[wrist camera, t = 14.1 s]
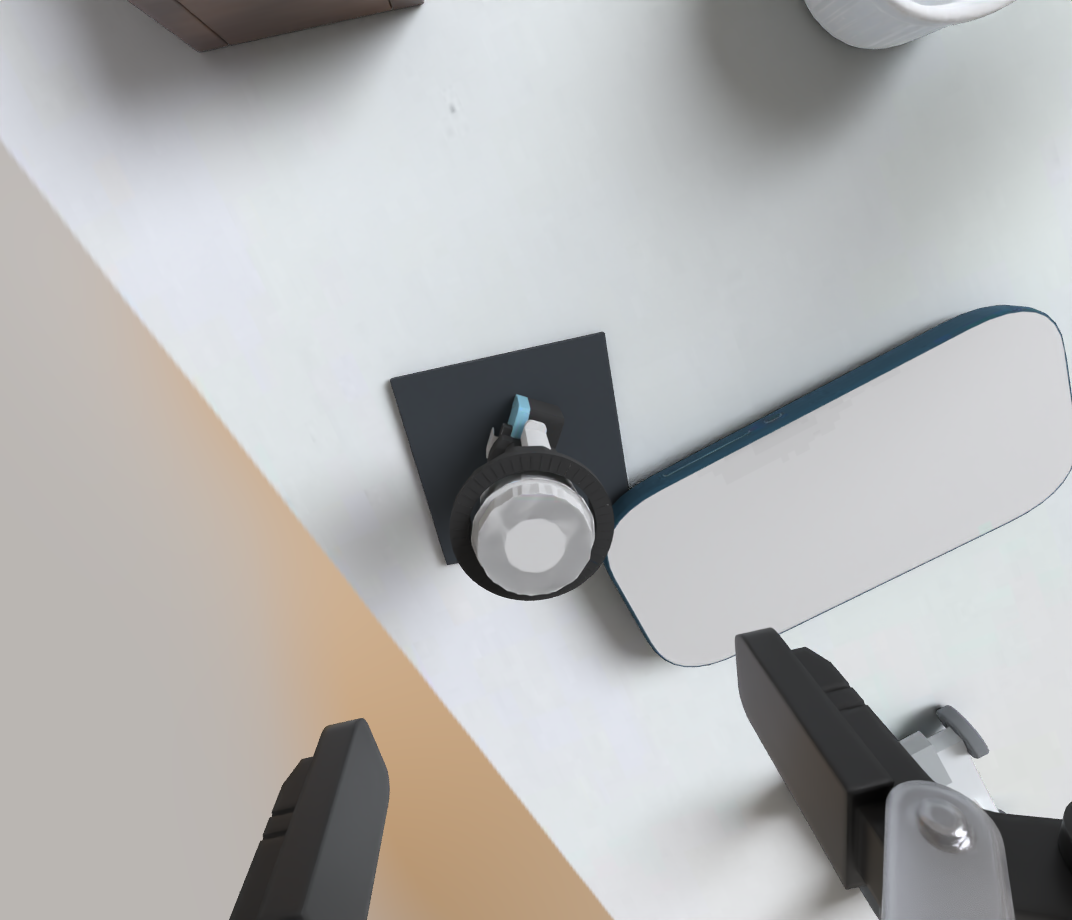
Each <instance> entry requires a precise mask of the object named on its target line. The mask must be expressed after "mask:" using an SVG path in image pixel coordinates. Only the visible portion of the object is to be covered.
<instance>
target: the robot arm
mask: <svg viewBox="0 0 1072 920" xmlns="http://www.w3.org/2000/svg"><path fill="white" fill-rule="evenodd" d="M735 652H736V664H737V676H738V688H739V694H740V698H741V702H742V705H743V708H744V710H745V713H746V715H747V717H748V719H749V721H750V723H751V725H752V726H753V728H754V730H755V732H756V733H757V735H758V737H759V739H760V740H761V742H762V744H763V746H764V747H765V749H766V751H767V753H768V754H769V756H770V758H771V760H772V761H773V763H774V765H775V767H776V768H777V770H778V772H779V774H780V775H781V777H782V779H783V781H784V782H785V784H786V786H787V788H788V789H789V791H790V793H791V795H792V796H793V798H794V800H795V802H796V803H797V805H798V807H799V808H800V810H801V812H802V814H803V815H804V817H805V819H806V821H807V822H808V824H809V826H810V828H811V829H812V831H813V833H814V835H815V836H816V838H817V840H818V842H819V843H820V845H821V847H822V849H823V850H824V852H825V854H826V856H827V857H828V859H829V861H830V863H831V864H832V866H833V868H834V870H835V871H836V873H837V875H838V877H839V878H840V880H841V882H842V884H843V885H844V887H845V889H846V890H847V889H851V888H856V887H860V886H865V885H867V887H868V888H869V890H870V892H871V893H872V895H873V897H874V898H875V900H876V902H877V903H878V905H879V907H880V920H1072V802H1071V803H1070V804H1069V805H1068V806H1067V807H1066V809H1065V812H1064V816H1063V820H1062V819H1052V818H1042V817H1033V816H1023V815H1013V814H1004V813H998V812H993V811H989V810H985V809H982V808H981V807H980V806H979V805H978V804H976V803H975V802H974V801H972V800H971V799H970V798H968V797H967V796H965V795H963V794H962V793H960V792H958V791H956V790H954V789H952V788H950V787H947V786H944V785H942V784H939V783H936V782H935V781H933V780H932V779H931V778H930V777H929V776H928V774H927V773H926V772H925V771H924V770H923V769H922V768H921V767H920V765H919V764H918V763H917V762H916V761H915V760H914V758H913V757H912V756H911V755H910V754H909V753H908V752H907V750H906V749H905V748H904V747H903V746H902V745H901V743H900V742H899V741H898V740H897V739H896V738H895V736H894V735H893V734H892V733H891V732H890V731H889V729H888V728H887V727H886V726H885V725H884V724H883V723H882V721H881V720H880V719H879V718H878V717H877V716H876V714H875V713H874V712H873V711H872V710H871V709H870V707H869V706H868V705H865V704H864V700H863V699H862V698H861V697H860V696H859V695H858V693H857V692H856V691H855V690H854V689H853V688H852V687H851V688H850V686H849V683H848V682H847V681H846V680H845V678H844V677H843V676H842V675H841V674H840V673H839V671H838V670H837V669H836V668H835V667H834V666H833V664H832V663H831V662H829V661H828V660H826V659H824V658H823V657H821V656H820V655H818V654H816V653H815V652H813V651H812V650H810V649H808V648H807V647H802V648H798V649H794V650H791V649H790V648H789V647H788V645H787V644H786V643H785V642H784V640H783V639H782V638H781V637H780V635H779V634H778V633H777V632H776V630H774V629H773V628H771V627H769V628H764V629H760V630H755V631H751V632H747V633H742V634H738V635H736V636H735ZM389 791H390V788H389V777H388V771H387V768H386V765H385V763H384V761H383V758H382V756H381V754H380V751H379V749H378V746H377V744H376V742H375V740H374V737H373V735H372V733H371V730H370V728H369V725H368V723H367V722H366V720H365V719H363V718H360V719H355V720H351V721H346V722H342V723H337V724H333V725H329V726H326V727H325V728H324V730H323V732H322V734H321V736H320V739H319V742H318V745H317V747H316V750H315V753H314V756H313V757H309V758H305V759H302V760H301V761H300V762H299V764H298V765H297V766H296V768H295V769H294V770H293V772H292V773H291V774H290V776H289V777H288V778H287V780H286V781H285V782H284V784H283V785H282V787H281V790H280V793H279V795H278V798H277V800H276V803H275V805H274V808H273V810H272V817H270V818H269V820H268V823H267V826H266V828H265V831H264V833H263V840H262V841H260V843H259V846H258V849H257V851H256V853H255V856H254V858H253V861H252V863H251V866H250V868H249V871H248V874H247V876H246V878H245V881H244V884H243V886H242V889H241V891H240V894H239V896H238V899H237V901H236V904H235V906H234V909H233V911H232V914H231V916H230V919H229V920H367V916H368V910H369V905H370V900H371V895H372V889H373V884H374V878H375V873H376V867H377V862H378V856H379V851H380V846H381V841H382V835H383V830H384V824H385V819H386V814H387V808H388V802H389Z"/></svg>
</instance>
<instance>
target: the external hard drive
mask: <svg viewBox="0 0 1072 920" xmlns="http://www.w3.org/2000/svg"><path fill="white" fill-rule="evenodd" d="M1071 469H1072V393H1071V386H1070V379H1069V372H1068V365H1067V357H1066V352H1065V347H1064V342H1063V338H1062V334H1061V332H1060V330H1059V328H1058V327H1057V325H1056V323H1055V322H1054V321H1053V320H1052V319H1051V318H1050V317H1049V316H1048V315H1047V314H1045V313H1043V312H1041V311H1038V310H1036V309H1033V308H1030V307H1023V306H1010V305H996V306H990V307H984V308H979V309H976V310H973V311H970V312H967V313H964V314H961V315H959V316H957V317H955V318H953V319H950V320H948V321H946V322H944V323H942V324H940V325H938V326H936V327H934V328H932V329H931V330H929V331H927V332H925V333H923V334H921V335H919V336H917V337H915V338H913V339H911V340H910V341H908V342H906V343H904V344H902V345H900V346H898V347H896V348H894V349H892V350H891V351H889V352H887V353H885V354H883V355H881V356H879V357H877V358H875V359H873V360H872V361H870V362H868V363H866V364H864V365H862V366H860V367H858V368H856V369H854V370H852V371H851V372H849V373H847V374H845V375H843V376H841V377H839V378H837V379H835V380H833V381H832V382H830V383H828V384H826V385H824V386H822V387H820V388H818V389H816V390H814V391H813V392H811V393H809V394H807V395H805V396H803V397H801V398H799V399H797V400H795V401H794V402H792V403H790V404H788V405H786V406H784V407H782V408H780V409H778V410H776V411H774V412H773V413H771V414H769V415H767V416H765V417H763V418H761V419H759V420H757V421H755V422H754V423H752V424H750V425H748V426H746V427H744V428H742V429H740V430H738V431H736V432H735V433H733V434H731V435H729V436H727V437H725V438H723V439H721V440H719V441H717V442H715V443H714V444H712V445H710V446H708V447H706V448H704V449H702V450H700V451H698V452H696V453H695V454H693V455H691V456H689V457H687V458H685V459H683V460H681V461H679V462H677V463H676V464H674V465H672V466H670V467H668V468H666V469H664V470H662V471H660V472H658V473H657V474H655V475H653V476H651V477H649V478H647V479H646V480H644V481H642V482H641V483H639V484H637V485H636V486H634V487H633V488H631V489H630V490H629V491H627V492H626V493H625V494H623V495H622V496H621V497H620V498H619V499H618V500H617V501H616V502H615V503H614V504H613V505H612V508H613V514H614V535H613V540H612V543H611V546H610V549H609V551H608V554H607V556H606V557H605V559H604V561H603V563H604V565H605V567H606V570H607V572H608V574H609V576H610V578H611V579H612V581H613V583H614V585H615V586H616V588H617V590H618V592H619V593H620V595H621V597H622V599H623V600H624V602H625V604H626V605H627V607H628V609H629V611H630V612H631V614H632V616H633V618H634V619H635V621H636V623H637V625H638V626H639V628H640V630H641V632H642V633H643V635H644V637H645V638H646V640H647V642H648V643H649V644H650V646H651V647H652V649H653V650H654V651H655V652H656V653H657V654H658V655H659V656H660V657H662V658H663V659H664V660H666V661H668V662H670V663H672V664H674V665H678V666H683V667H700V666H706V665H711V664H714V663H717V662H720V661H723V660H726V659H729V658H731V657H733V656H735V655H736V652H735V636H736V635H738V634H742V633H747V632H751V631H755V630H760V629H764V628H769V627H771V628H773V629H774V630H776V632H777V633H778V634H781V633H783V632H785V631H787V630H789V629H792V628H794V627H796V626H798V625H800V624H802V623H804V622H806V621H808V620H810V619H812V618H814V617H816V616H818V615H820V614H822V613H824V612H826V611H828V610H831V609H833V608H835V607H837V606H839V605H841V604H843V603H845V602H847V601H849V600H851V599H853V598H855V597H857V596H859V595H861V594H863V593H865V592H868V591H870V590H872V589H874V588H876V587H878V586H880V585H882V584H884V583H886V582H888V581H890V580H892V579H894V578H896V577H898V576H900V575H902V574H905V573H907V572H909V571H911V570H913V569H915V568H917V567H919V566H921V565H923V564H925V563H927V562H929V561H931V560H933V559H935V558H937V557H939V556H942V555H944V554H946V553H948V552H950V551H952V550H954V549H956V548H958V547H960V546H962V545H964V544H966V543H968V542H970V541H972V540H974V539H976V538H979V537H981V536H983V535H985V534H987V533H989V532H991V531H993V530H995V529H997V528H999V527H1001V526H1003V525H1005V524H1007V523H1009V522H1011V521H1013V520H1015V519H1017V518H1019V517H1021V516H1022V515H1024V514H1026V513H1028V512H1029V511H1031V510H1032V509H1034V508H1035V507H1037V506H1038V505H1040V504H1041V503H1043V502H1044V501H1045V500H1046V499H1047V498H1049V497H1050V496H1051V495H1052V494H1053V493H1054V492H1055V491H1056V490H1057V489H1058V488H1059V487H1060V486H1061V485H1062V483H1063V482H1064V481H1065V479H1066V478H1067V476H1068V474H1069V473H1070V471H1071Z"/></svg>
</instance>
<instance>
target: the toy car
mask: <svg viewBox="0 0 1072 920" xmlns="http://www.w3.org/2000/svg"><path fill="white" fill-rule="evenodd" d="M937 716H938V718H939V719H940V721H941V722H942V724H943V725H944V727H945V728H946V729H944V730H942V731H940V732H938V733H936V734H934V735H933V736H931V737H929V738H926V737H925V736H924V735H923V734H922V733H921V732H920V731H918V732H916V733H914V734H912V735H910V736H908V737H906V738H904V739H902V740H900V741H899V742H900V743H901V745H902V746H903V747H904V748H905V749H906V750H907V752H908V753H909V754H910V755H911V756H912V757H913V758H914V760H915V761H916V762H917V763H918V764H919V765H920V767H921V768H922V769H923V770H924V771H925V772H926V773H927V774H928V776H929V777H930V778H931V779H932V780H933V781H935V782H936V783H939V784H942V785H944V786H947V787H950V788H952V789H954V790H956V791H958V792H960V793H962V794H963V795H965V796H967V797H968V798H970V799H971V800H972V801H974V802H975V803H976V804H978V805H979V806H980V807H981V808H982V809H985V810H989V811H993V812H998V813H1004V814H1006V813H1005V812H1003V811H1002V810H998V809H997V807H996V805H995V803H994V801H993V799H992V797H991V795H990V793H989V791H988V789H987V787H986V785H985V783H984V782H983V780H982V778H981V776H980V774H979V772H978V770H977V768H976V766H975V764H974V762H973V760H972V758H971V756H972V757H974V758H977V759H978V758H980V757H982V756H984V755H986V754H988V753H989V749H988V747H987V745H986V743H985V742H984V740H983V739H982V738H981V736H980V735H979V734H978V732H977V731H976V730H975V729H974V728H973V726H972V725H971V724H970V723H969V722H968V721H967V720H966V719H965V718H964V717H963V716H962V715H961V714H960V713H959V712H958V711H957V710H956V709H954V708H953V707H951V706H949V705H946V706H944V707H942V708H941V709H939V710H937ZM970 755H971V756H970ZM859 888H860V890H861V891H862V893H863V895H864V896H865V898H866V900H867V901H868V903H869V905H870V906H871V908H872V910H873V911H874V913H875V914H876V916H877V917H878V919H879V920H880V907H879V905H878V903H877V902H876V900H875V898H874V897H873V895H872V893H871V892H870V890H869V888H868V887H867V885H865V886H860V887H859Z"/></svg>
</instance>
